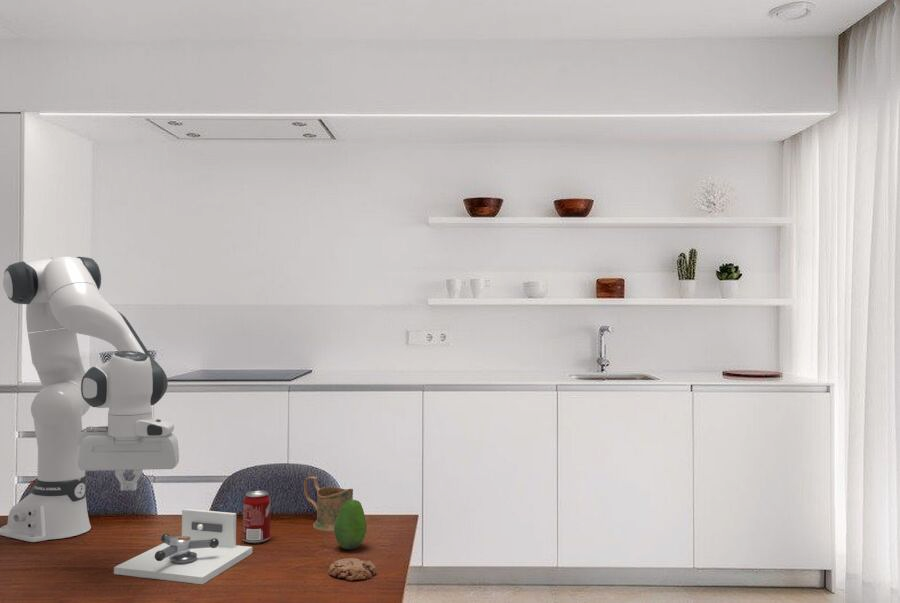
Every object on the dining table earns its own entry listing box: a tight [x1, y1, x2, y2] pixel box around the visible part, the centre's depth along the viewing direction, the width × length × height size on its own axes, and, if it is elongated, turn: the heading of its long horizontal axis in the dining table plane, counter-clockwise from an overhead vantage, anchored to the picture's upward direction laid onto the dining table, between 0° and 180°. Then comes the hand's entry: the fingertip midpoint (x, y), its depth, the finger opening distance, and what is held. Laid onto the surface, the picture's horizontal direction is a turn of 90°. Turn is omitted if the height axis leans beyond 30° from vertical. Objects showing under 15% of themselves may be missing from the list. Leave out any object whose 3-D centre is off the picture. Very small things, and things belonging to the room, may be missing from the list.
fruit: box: [333, 499, 367, 551], centre depth 180 cm, size 8×8×12 cm
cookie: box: [328, 557, 377, 581], centre depth 163 cm, size 10×11×3 cm
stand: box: [113, 508, 254, 585], centre depth 168 cm, size 22×21×10 cm
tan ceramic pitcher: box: [303, 476, 354, 533], centre depth 201 cm, size 12×18×12 cm, turn 54°
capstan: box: [155, 533, 219, 563], centre depth 164 cm, size 15×13×5 cm
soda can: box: [241, 490, 271, 545], centre depth 186 cm, size 7×7×12 cm
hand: (128, 490), depth 159 cm, fingers closed
